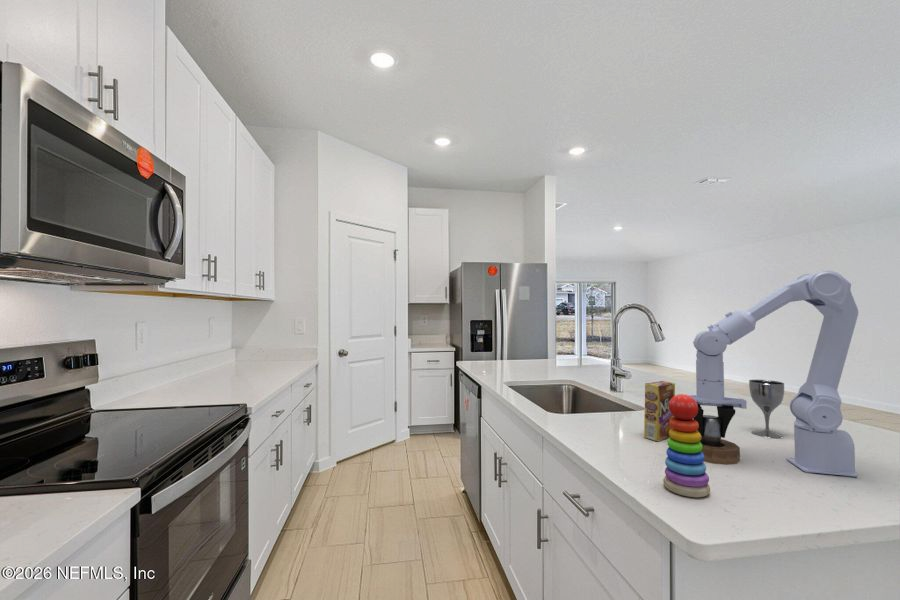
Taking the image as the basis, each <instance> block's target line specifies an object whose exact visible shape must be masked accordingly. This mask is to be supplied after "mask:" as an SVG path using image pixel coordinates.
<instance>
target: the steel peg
mask: <svg viewBox="0 0 900 600" xmlns="http://www.w3.org/2000/svg"><path fill="white" fill-rule="evenodd" d="M721 439H722V438H721V418H720V417H718V415H717V416H716V415H709V414H703V436H702V444H703V445H707V446H711V447H721Z"/></svg>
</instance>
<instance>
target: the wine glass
mask: <svg viewBox="0 0 900 600" xmlns="http://www.w3.org/2000/svg"><path fill="white" fill-rule="evenodd" d="M748 386H749V387H748V388H749V394H750V397H751V399H752V401H753V403H754V404H755V405H757V407H758V408H759V409H760V410H761V411H762V414H763V416H764V417H763V418H764V422H765V428H764V430H753V431H752V432H751V433H752V435H756V436H758V437H762V438H767V437H768V439H782V438H781V437H783V438H784V436H783V435H782V434H780V433H777V432H773V431H771V430H770V417H771V414H772V412H774V410H776V409H777V408H778V407H779V406H780V405H781V404H782V402H783V400H784V396H785V383H784V382H781V381H777V380H770V379H769V380H768V379H749V380H748Z"/></svg>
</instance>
